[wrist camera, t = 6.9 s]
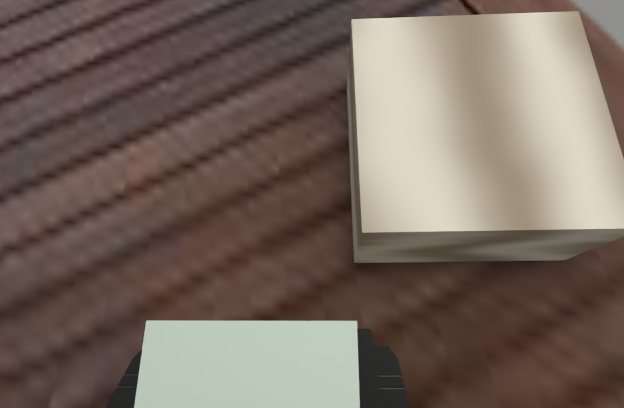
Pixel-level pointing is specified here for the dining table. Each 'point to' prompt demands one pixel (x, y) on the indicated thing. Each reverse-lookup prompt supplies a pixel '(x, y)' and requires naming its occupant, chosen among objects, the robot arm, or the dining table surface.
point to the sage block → (249, 365)
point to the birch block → (479, 140)
